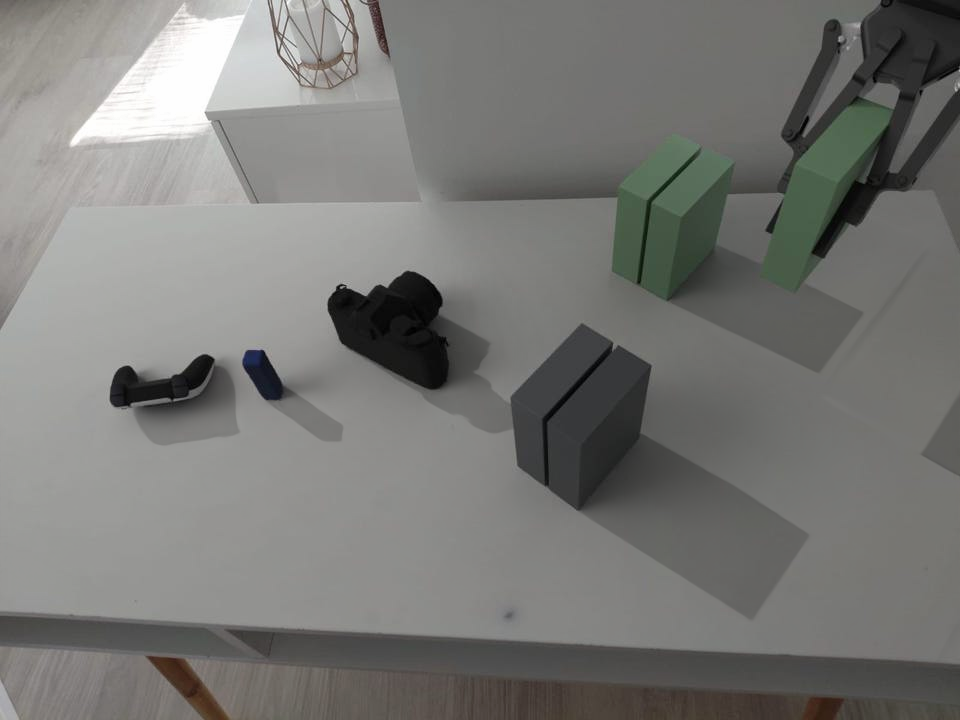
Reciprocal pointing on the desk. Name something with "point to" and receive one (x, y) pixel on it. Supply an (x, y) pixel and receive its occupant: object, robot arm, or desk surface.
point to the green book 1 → (645, 202)
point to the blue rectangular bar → (262, 374)
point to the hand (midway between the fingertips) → (794, 244)
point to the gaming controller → (160, 385)
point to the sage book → (822, 190)
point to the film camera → (395, 327)
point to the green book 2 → (685, 223)
